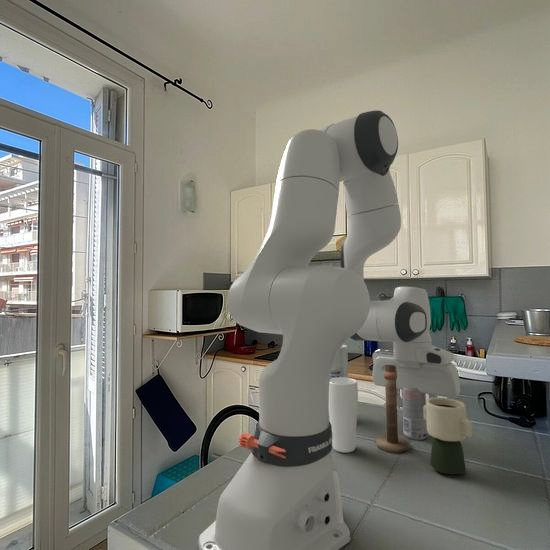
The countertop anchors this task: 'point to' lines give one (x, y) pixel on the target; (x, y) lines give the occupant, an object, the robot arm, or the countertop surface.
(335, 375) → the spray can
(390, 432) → the post
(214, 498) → the countertop surface
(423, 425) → the energy drink
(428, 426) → the character mug
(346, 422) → the white tumbler
